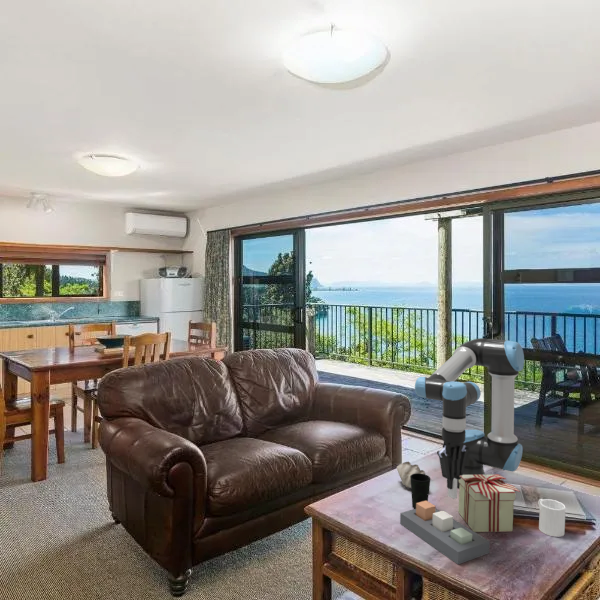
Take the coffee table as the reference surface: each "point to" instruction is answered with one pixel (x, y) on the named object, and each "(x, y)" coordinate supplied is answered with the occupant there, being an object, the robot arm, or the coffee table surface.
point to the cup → (419, 488)
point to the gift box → (486, 502)
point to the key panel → (445, 538)
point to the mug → (551, 517)
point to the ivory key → (442, 521)
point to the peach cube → (425, 510)
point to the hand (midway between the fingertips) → (452, 497)
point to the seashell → (408, 472)
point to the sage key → (461, 536)
